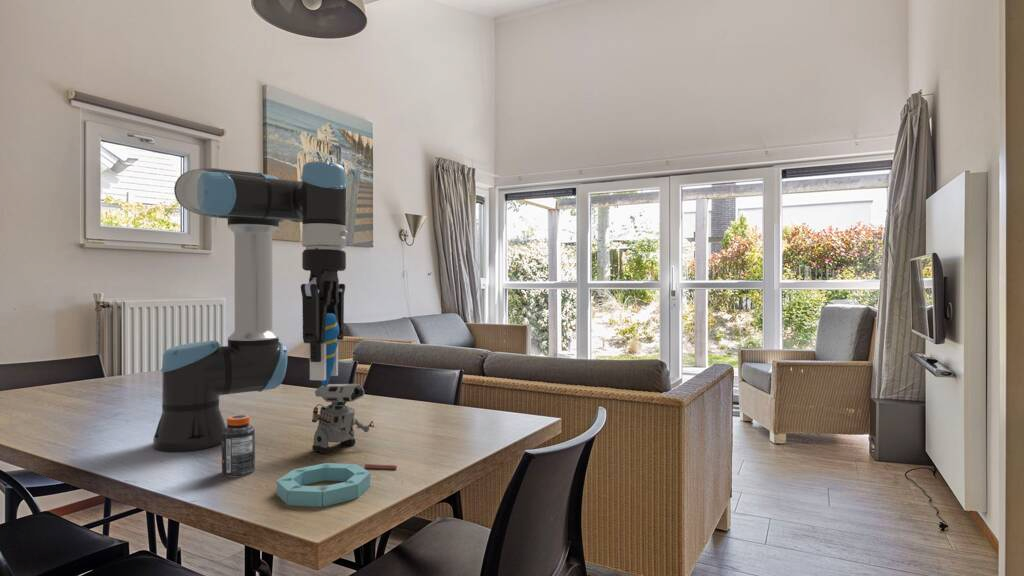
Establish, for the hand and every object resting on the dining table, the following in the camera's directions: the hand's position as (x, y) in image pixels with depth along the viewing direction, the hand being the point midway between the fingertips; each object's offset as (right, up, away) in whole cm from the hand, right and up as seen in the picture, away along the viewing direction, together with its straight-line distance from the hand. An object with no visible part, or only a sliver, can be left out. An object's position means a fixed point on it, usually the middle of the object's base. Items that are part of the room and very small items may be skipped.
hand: (324, 377), depth 105 cm
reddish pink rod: (+7, -20, +12) cm, 25 cm away
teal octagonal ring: (0, -21, 0) cm, 21 cm away
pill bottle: (-20, -21, +9) cm, 30 cm away
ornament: (0, -2, 0) cm, 2 cm away
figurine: (-5, -21, +26) cm, 33 cm away
